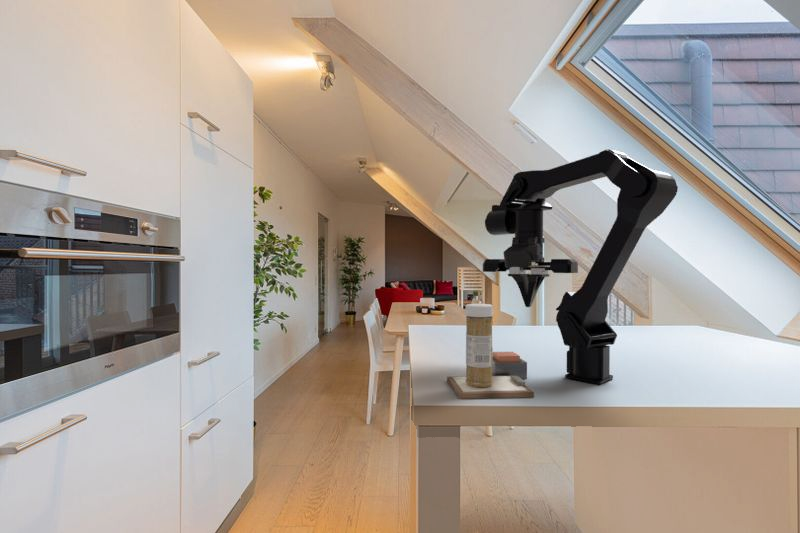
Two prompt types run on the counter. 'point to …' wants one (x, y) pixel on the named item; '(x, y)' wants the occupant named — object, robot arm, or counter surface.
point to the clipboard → (491, 388)
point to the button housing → (510, 369)
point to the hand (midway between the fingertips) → (528, 306)
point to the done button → (506, 357)
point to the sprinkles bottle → (479, 345)
